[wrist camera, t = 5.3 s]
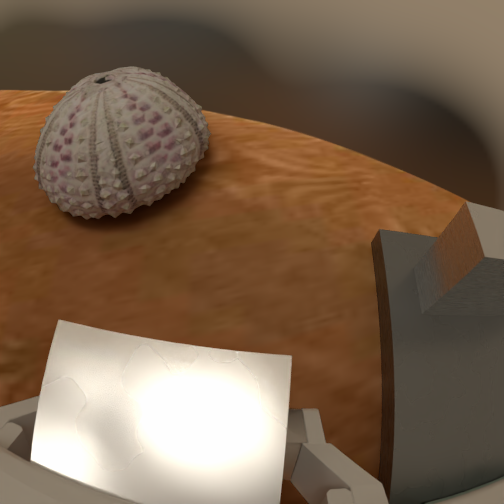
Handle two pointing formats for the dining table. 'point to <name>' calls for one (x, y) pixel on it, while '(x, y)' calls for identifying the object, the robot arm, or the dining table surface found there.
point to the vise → (442, 356)
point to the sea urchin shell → (119, 143)
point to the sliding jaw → (464, 492)
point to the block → (162, 419)
